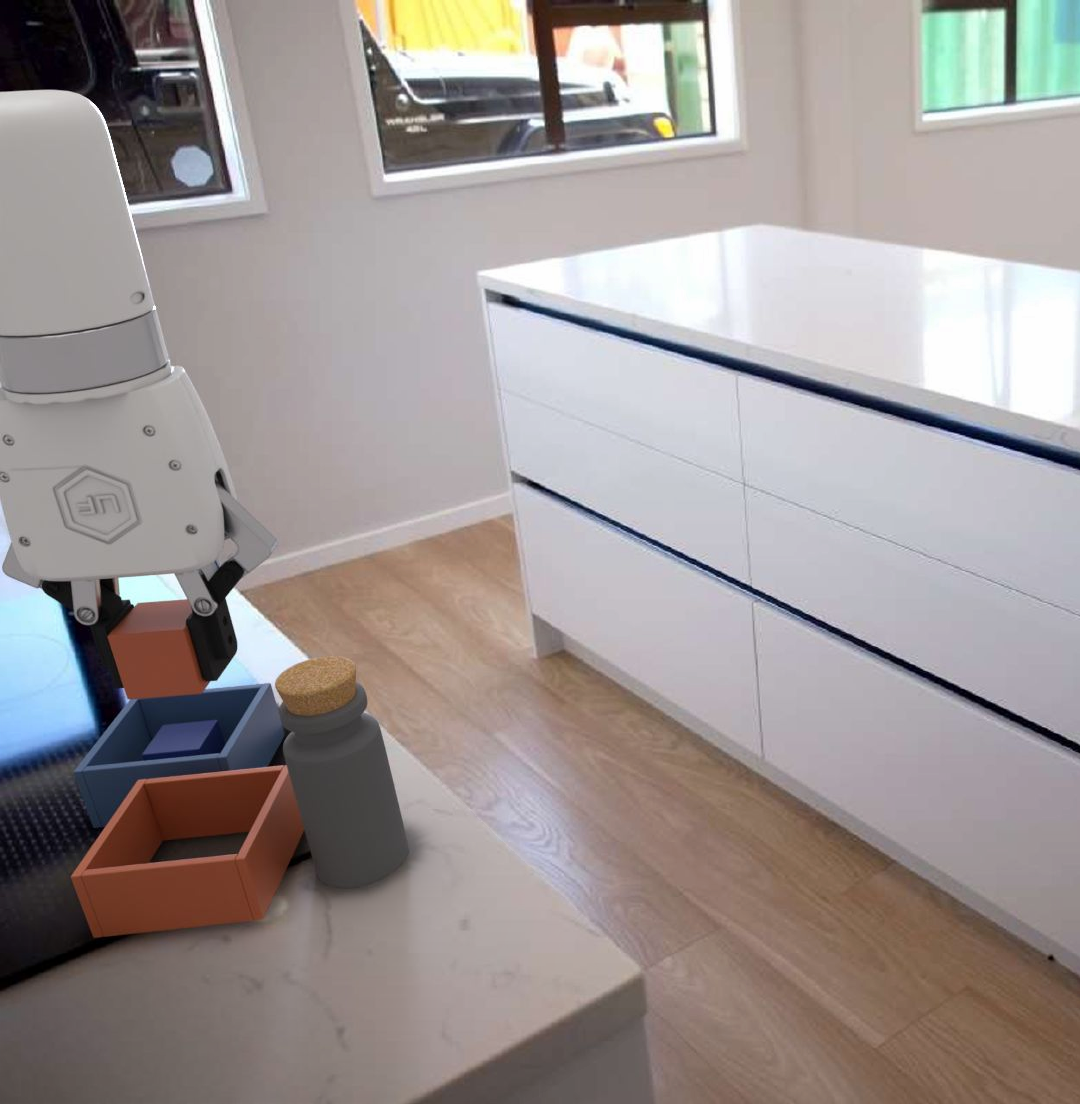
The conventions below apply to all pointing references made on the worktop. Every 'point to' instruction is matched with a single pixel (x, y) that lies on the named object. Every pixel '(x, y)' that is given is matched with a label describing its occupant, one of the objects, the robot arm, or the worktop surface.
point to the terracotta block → (157, 651)
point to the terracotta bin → (192, 884)
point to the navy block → (185, 740)
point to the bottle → (340, 774)
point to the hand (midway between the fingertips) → (175, 669)
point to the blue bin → (120, 762)
